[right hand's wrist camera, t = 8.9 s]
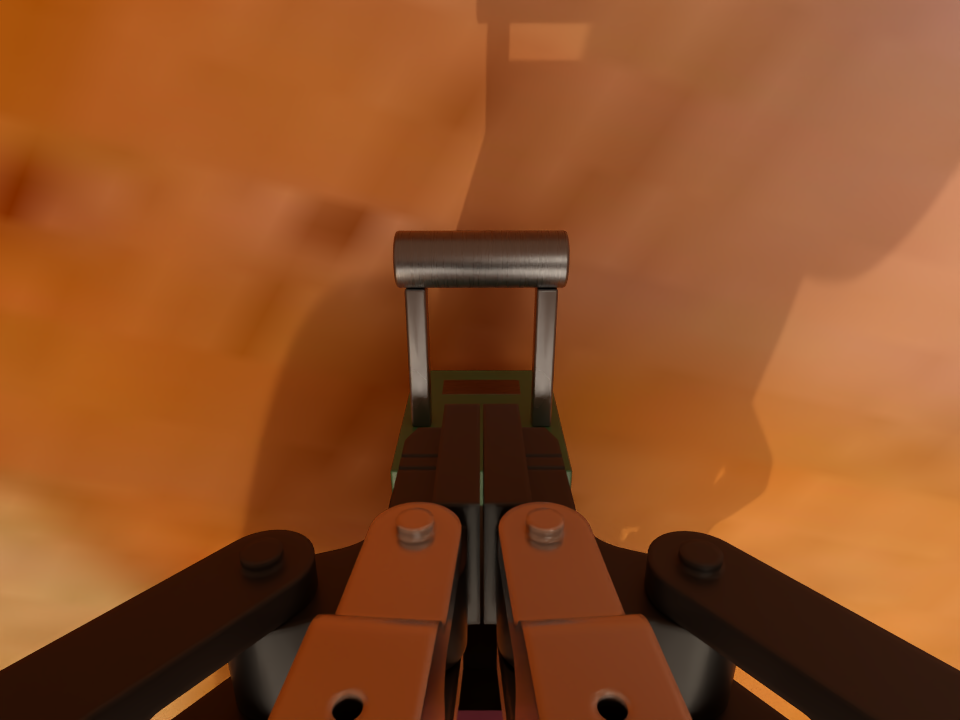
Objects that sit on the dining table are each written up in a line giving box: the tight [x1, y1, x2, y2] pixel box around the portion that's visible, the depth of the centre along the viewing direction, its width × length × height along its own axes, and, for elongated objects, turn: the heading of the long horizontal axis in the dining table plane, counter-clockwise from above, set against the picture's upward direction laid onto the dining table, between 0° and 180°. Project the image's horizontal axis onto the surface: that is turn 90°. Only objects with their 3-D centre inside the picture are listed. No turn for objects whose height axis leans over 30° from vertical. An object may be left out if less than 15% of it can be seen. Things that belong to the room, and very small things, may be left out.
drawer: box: [391, 231, 572, 710], centre depth 21 cm, size 21×5×7 cm, turn 0°
